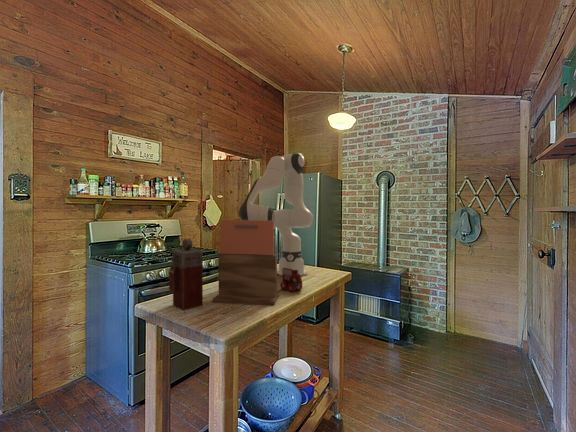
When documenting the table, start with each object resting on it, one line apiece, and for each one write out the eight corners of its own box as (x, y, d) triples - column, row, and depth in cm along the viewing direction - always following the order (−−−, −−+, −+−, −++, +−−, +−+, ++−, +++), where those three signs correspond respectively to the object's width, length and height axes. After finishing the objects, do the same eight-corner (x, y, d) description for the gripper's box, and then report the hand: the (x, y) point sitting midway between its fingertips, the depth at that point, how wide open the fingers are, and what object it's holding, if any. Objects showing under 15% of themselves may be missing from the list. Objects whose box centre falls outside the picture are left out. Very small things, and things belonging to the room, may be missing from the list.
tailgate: (221, 252, 139) (221, 219, 138) (273, 254, 136) (273, 220, 135) (219, 253, 137) (219, 220, 136) (272, 255, 133) (273, 220, 133)
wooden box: (223, 292, 147) (223, 251, 146) (279, 295, 143) (279, 252, 142) (212, 302, 133) (212, 256, 132) (274, 305, 129) (274, 258, 128)
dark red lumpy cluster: (296, 294, 146) (296, 272, 145) (277, 288, 154) (277, 268, 153) (305, 290, 151) (305, 269, 150) (287, 286, 159) (287, 266, 158)
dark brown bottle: (167, 306, 127) (166, 239, 126) (192, 300, 135) (191, 237, 134) (177, 311, 121) (176, 241, 120) (203, 305, 129) (202, 238, 128)
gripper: (236, 225, 157) (227, 227, 143) (276, 226, 154) (270, 228, 140) (236, 238, 157) (227, 241, 143) (276, 239, 154) (270, 242, 140)
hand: (249, 234), depth 142 cm, fingers closed
